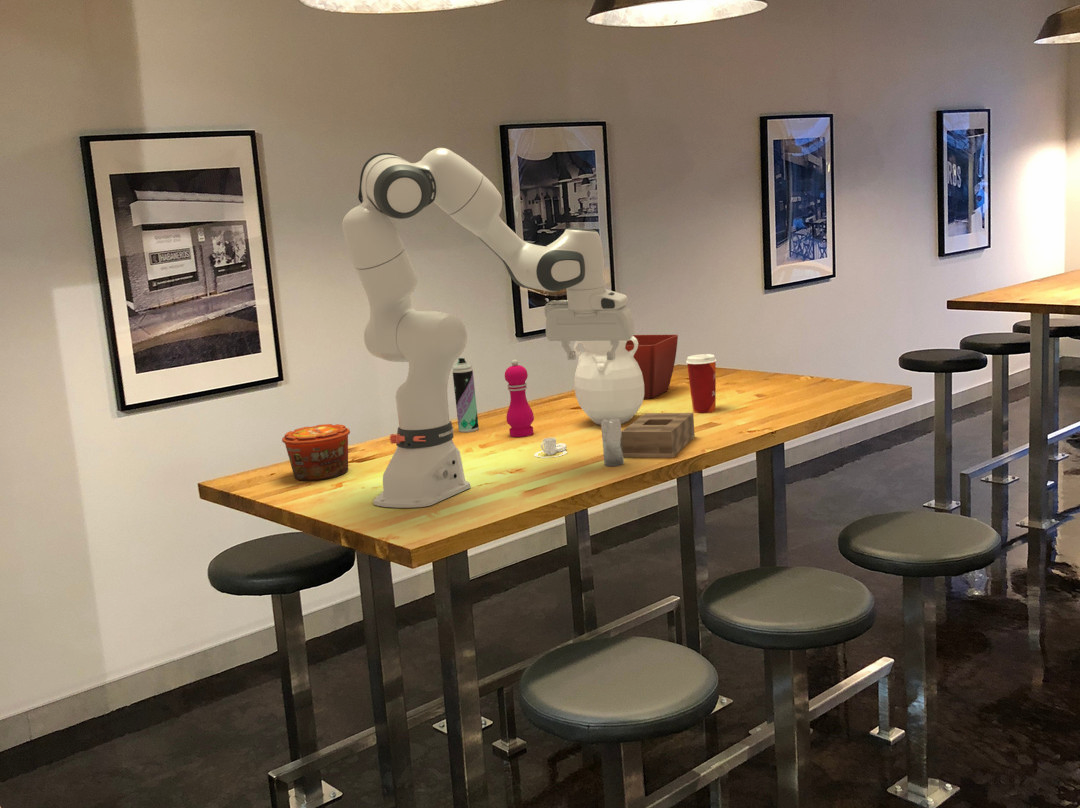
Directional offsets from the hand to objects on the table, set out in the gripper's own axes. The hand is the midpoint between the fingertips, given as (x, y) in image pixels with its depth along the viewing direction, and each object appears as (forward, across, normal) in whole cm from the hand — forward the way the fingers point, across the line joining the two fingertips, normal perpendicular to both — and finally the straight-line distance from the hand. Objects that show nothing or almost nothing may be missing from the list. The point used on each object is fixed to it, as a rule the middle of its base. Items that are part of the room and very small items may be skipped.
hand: (591, 359), depth 240 cm
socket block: (+24, +12, +9) cm, 28 cm away
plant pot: (+29, -10, +73) cm, 79 cm away
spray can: (+27, -46, +28) cm, 60 cm away
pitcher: (+26, -8, +37) cm, 46 cm away
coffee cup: (+26, +14, +49) cm, 58 cm away
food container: (+24, -64, -18) cm, 71 cm away
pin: (+23, +6, -6) cm, 24 cm away
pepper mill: (+26, -29, +22) cm, 45 cm away
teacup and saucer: (+24, -10, +3) cm, 27 cm away
